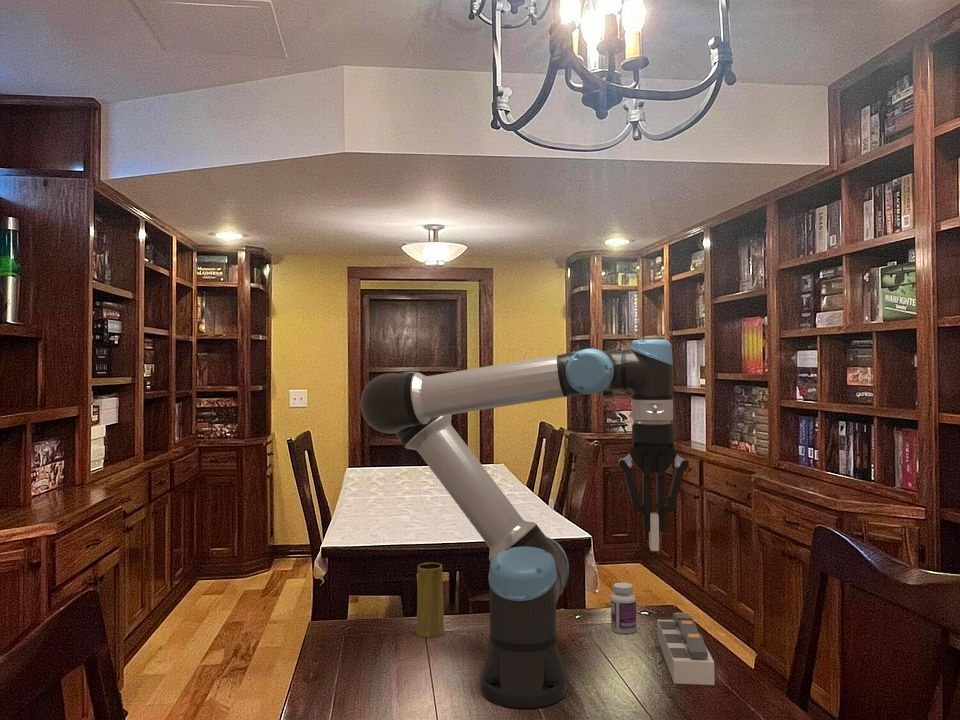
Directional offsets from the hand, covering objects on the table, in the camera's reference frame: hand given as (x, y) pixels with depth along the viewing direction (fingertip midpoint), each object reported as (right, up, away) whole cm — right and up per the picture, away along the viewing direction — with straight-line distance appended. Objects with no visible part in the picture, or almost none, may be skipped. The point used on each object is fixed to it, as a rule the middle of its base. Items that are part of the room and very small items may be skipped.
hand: (654, 549), depth 134 cm
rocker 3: (+7, -17, -3) cm, 18 cm away
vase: (-43, -23, +20) cm, 53 cm away
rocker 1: (+8, -17, +11) cm, 22 cm away
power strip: (+7, -22, +4) cm, 24 cm away
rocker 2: (+8, -17, +4) cm, 19 cm away
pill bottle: (-2, -23, +20) cm, 30 cm away
